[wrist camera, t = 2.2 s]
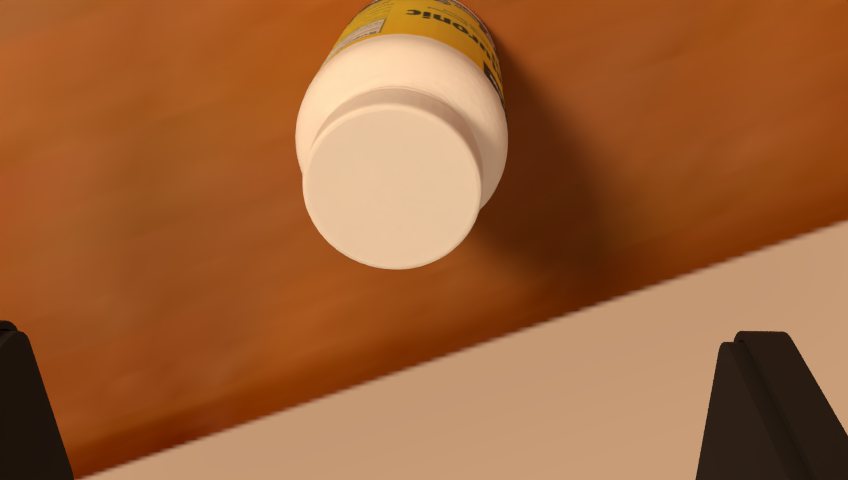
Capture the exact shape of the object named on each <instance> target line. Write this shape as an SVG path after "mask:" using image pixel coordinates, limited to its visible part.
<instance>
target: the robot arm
mask: <svg viewBox="0 0 848 480" xmlns="http://www.w3.org/2000/svg"><path fill="white" fill-rule="evenodd" d="M0 480H74V477H73V472H72V469H71V466H70V463H69V460H68V457H67V454H66V451H65V448H64V445H63V442H62V439H61V436H60V433H59V430H58V427H57V424H56V420H55V417H54V414H53V411H52V408H51V405H50V402H49V399H48V396H47V393H46V390H45V387H44V384H43V381H42V378H41V375H40V372H39V369H38V366H37V362H36V359H35V356H34V353H33V350H32V347H31V344H30V341H29V339H28V337H27V335H26V334H25V333H24V332H20V331H18V330H17V328H16V326H15V325H14V324H13V323H12V322H9V321H2V320H0ZM696 480H848V435H847V434H846V432H845V430H844V428H843V427H842V425H841V423H840V422H839V420H838V418H837V416H836V415H835V413H834V411H833V409H832V408H831V406H830V405H829V403H828V401H827V399H826V398H825V396H824V394H823V392H822V390H821V389H820V387H819V386H818V384H817V382H816V380H815V378H814V377H813V375H812V373H811V371H810V370H809V368H808V366H807V365H806V363H805V361H804V360H803V358H802V356H801V354H800V353H799V351H798V349H797V347H796V346H795V344H794V342H793V341H792V339H791V337H790V336H789V335H788V334H787V333H785V332H774V331H773V332H772V331H769V332H768V331H740V332H738V333H737V334H736V336H735V338H734V342H723V343H722V344H721V346H720V348H719V352H718V358H717V364H716V369H715V374H714V380H713V386H712V392H711V397H710V402H709V408H708V414H707V419H706V425H705V430H704V436H703V442H702V447H701V452H700V458H699V464H698V469H697V475H696Z"/></svg>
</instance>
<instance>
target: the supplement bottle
mask: <svg viewBox="0 0 848 480" xmlns="http://www.w3.org/2000/svg"><path fill="white" fill-rule="evenodd" d="M296 150H297V157H298V161H299V165H300V168H301V171H302V174H303V194H304V200H305V204H306V208H307V210H308V213H309V215H310V217H311V219H312V221H313V223H314V224H315V226H316V228H317V229H318V231H319V232H320V233H321V235H322V236H323V237H324V238H325V239H326V240H327V241H328V242H329V243H330V244H331V245H332V246H333V247H334V248H336V249H337V250H338V251H340V252H341V253H343V254H344V255H346V256H347V257H349V258H351V259H353V260H355V261H358V262H360V263H363V264H366V265H369V266H373V267H377V268H383V269H410V268H416V267H419V266H423V265H426V264H429V263H432V262H434V261H436V260H438V259H440V258H442V257H444V256H445V255H447V254H448V253H450V252H451V251H452V250H453V249H454V248H456V247H457V246H458V245H459V244H460V243H461V242H462V241H463V240H464V238H465V237H466V236H467V235H468V233H469V232H470V230H471V228H472V227H473V225H474V223H475V221H476V219H477V216H478V213H479V210H480V209H481V208H482V207H483V206H484V205H485V204H486V203H487V201H488V200H489V199H490V197H491V196H492V194H493V193H494V191H495V189H496V187H497V185H498V183H499V181H500V179H501V176H502V174H503V171H504V168H505V163H506V158H507V150H508V123H507V115H506V111H505V104H504V93H503V85H502V78H501V68H500V63H499V58H498V54H497V51H496V48H495V45H494V43H493V40H492V38H491V36H490V34H489V32H488V31H487V29H486V28H485V26H484V25H483V23H482V22H481V21H480V20H479V18H478V17H477V16H476V15H475V14H474V13H473V12H472V11H470V10H469V9H468V8H467V7H466V6H464V5H463V4H461V3H460V2H458V1H456V0H376V1H374V2H372V3H371V4H369V5H368V6H366V7H365V8H364V9H363V10H361V11H360V12H359V13H358V14H357V15H356V16H355V17H354V18H353V20H352V21H351V22H350V23H349V24H348V26H347V27H346V28H345V30H344V31H343V33H342V34H341V36H340V38H339V39H338V41H337V42H336V44H335V45H334V47H333V49H332V50H331V52H330V53H329V55H328V57H327V58H326V60H325V61H324V63H323V65H322V66H321V68H320V70H319V71H318V73H317V74H316V76H315V77H314V79H313V81H312V82H311V84H310V86H309V87H308V90H307V92H306V94H305V97H304V99H303V101H302V104H301V107H300V111H299V114H298V119H297V125H296Z"/></svg>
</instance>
